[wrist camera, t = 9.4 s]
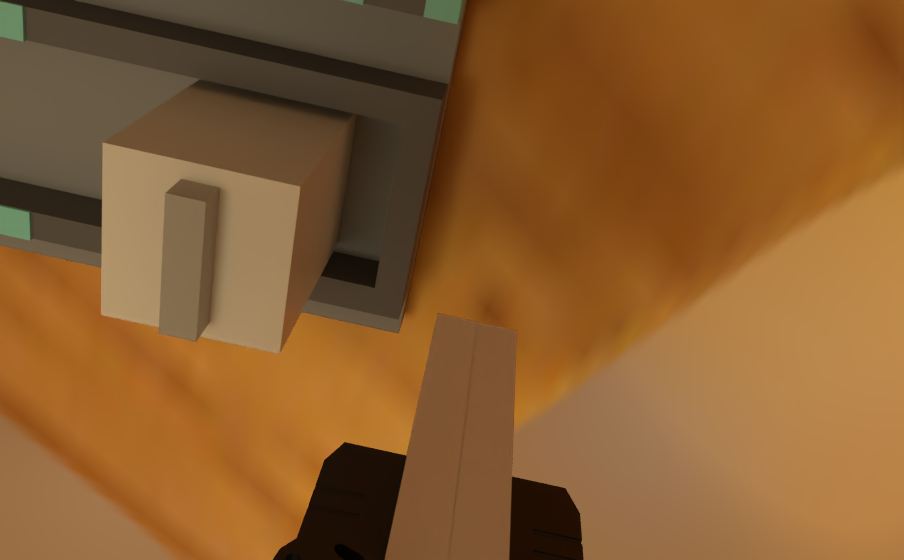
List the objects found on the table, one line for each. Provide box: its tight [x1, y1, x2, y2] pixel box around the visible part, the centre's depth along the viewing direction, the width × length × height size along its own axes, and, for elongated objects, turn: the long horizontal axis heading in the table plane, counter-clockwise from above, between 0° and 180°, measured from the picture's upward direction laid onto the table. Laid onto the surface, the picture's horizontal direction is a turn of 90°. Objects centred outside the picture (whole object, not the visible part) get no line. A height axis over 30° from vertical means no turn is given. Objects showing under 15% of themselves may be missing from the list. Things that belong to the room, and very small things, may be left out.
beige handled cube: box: [101, 79, 357, 354], centre depth 20 cm, size 4×4×7 cm
